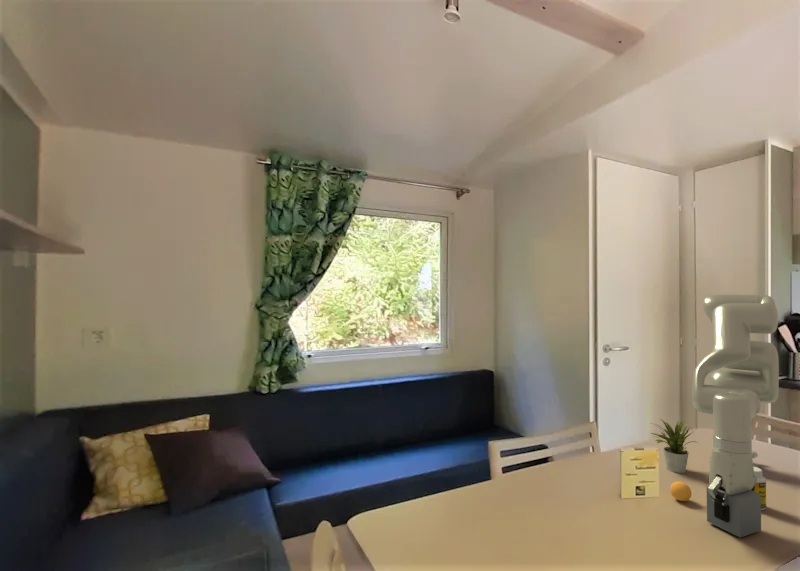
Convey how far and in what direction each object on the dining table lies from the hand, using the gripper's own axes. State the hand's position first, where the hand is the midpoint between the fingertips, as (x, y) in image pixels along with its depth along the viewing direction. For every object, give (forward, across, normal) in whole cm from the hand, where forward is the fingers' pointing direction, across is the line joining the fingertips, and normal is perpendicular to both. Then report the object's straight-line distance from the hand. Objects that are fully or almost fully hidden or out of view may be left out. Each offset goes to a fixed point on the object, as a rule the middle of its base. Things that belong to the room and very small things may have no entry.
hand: (733, 515), depth 108 cm
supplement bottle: (+4, -16, -5) cm, 18 cm away
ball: (+1, -2, -15) cm, 15 cm away
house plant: (+4, -21, -31) cm, 37 cm away
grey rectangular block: (+3, 0, 0) cm, 3 cm away
